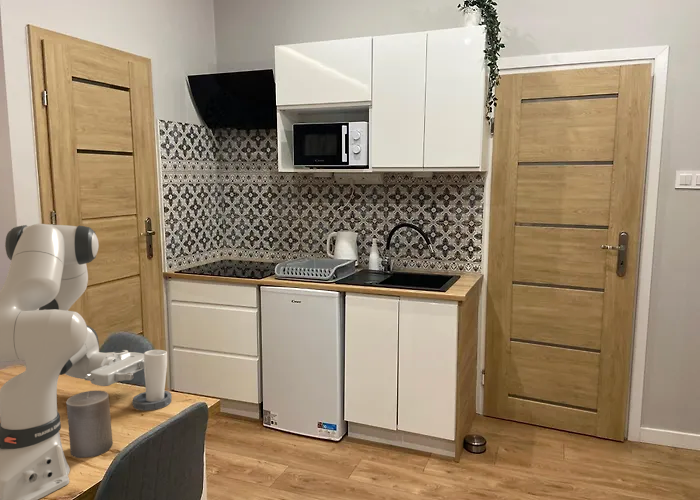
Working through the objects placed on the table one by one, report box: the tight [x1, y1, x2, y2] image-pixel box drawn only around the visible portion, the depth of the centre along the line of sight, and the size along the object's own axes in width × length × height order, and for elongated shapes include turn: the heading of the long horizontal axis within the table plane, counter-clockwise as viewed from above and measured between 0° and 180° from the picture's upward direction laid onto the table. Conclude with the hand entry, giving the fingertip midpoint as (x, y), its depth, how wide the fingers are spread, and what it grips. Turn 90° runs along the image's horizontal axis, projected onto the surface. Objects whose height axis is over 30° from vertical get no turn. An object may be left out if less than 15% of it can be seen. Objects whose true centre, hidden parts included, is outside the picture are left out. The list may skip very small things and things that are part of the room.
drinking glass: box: [143, 349, 168, 402], centre depth 164 cm, size 7×7×15 cm
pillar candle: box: [65, 390, 114, 459], centre depth 135 cm, size 10×10×15 cm
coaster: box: [131, 390, 172, 412], centre depth 164 cm, size 11×11×2 cm
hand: (142, 371), depth 164 cm, fingers open, 8 cm apart
